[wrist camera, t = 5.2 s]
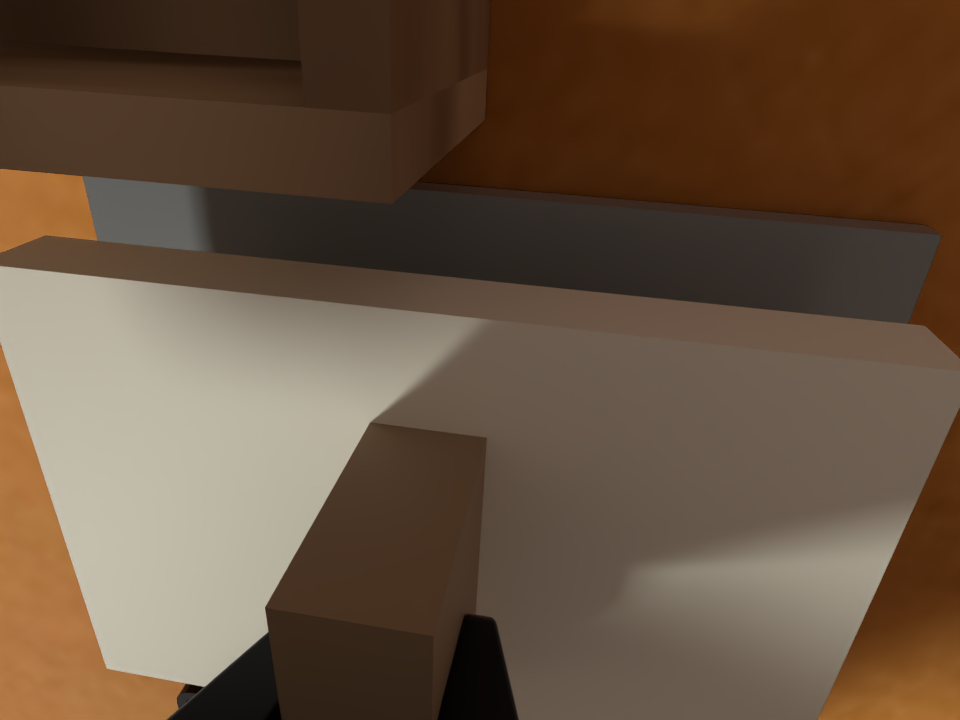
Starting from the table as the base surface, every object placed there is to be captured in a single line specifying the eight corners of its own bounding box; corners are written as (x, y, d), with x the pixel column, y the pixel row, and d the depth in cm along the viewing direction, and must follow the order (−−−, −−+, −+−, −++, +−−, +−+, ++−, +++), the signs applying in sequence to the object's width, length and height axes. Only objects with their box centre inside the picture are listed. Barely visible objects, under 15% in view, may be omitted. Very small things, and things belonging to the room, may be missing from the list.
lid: (892, 295, 9) (1210, 593, 4) (754, 673, 12) (845, 1058, 8) (93, 217, 10) (-321, 378, 6) (176, 576, 14) (-35, 856, 9)
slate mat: (769, 647, 14) (774, 668, 13) (187, 553, 15) (174, 569, 15) (926, 225, 9) (942, 234, 9) (99, 155, 11) (79, 160, 11)
